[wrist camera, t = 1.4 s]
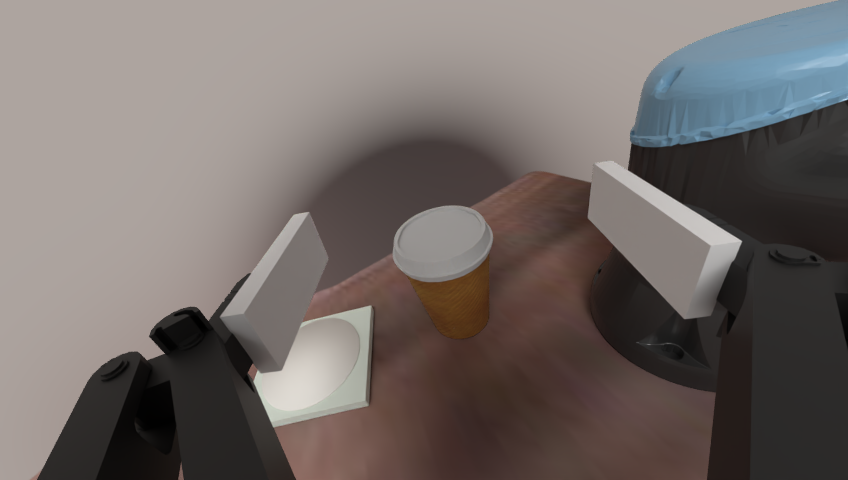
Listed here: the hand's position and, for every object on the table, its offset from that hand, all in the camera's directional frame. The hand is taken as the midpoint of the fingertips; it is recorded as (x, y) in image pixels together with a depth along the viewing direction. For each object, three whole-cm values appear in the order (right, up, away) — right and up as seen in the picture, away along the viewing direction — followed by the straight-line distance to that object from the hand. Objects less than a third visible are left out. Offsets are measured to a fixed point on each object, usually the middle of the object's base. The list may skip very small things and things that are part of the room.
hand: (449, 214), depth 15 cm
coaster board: (-13, -15, +20) cm, 29 cm away
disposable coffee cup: (+3, -10, +21) cm, 24 cm away
